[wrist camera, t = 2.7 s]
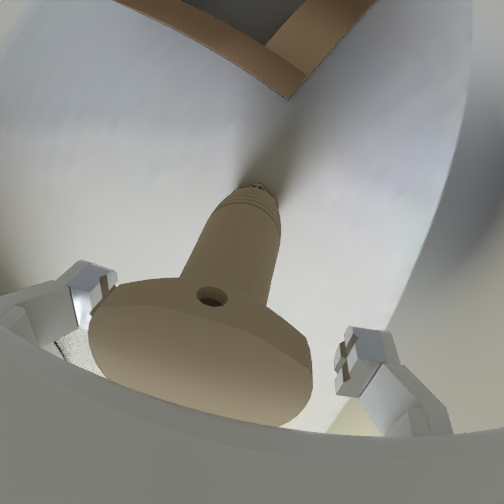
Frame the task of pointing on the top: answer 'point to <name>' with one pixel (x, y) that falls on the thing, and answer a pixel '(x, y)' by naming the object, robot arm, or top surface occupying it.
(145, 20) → the top surface
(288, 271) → the top surface
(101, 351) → the handle
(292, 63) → the frame
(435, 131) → the top surface
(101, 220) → the top surface
